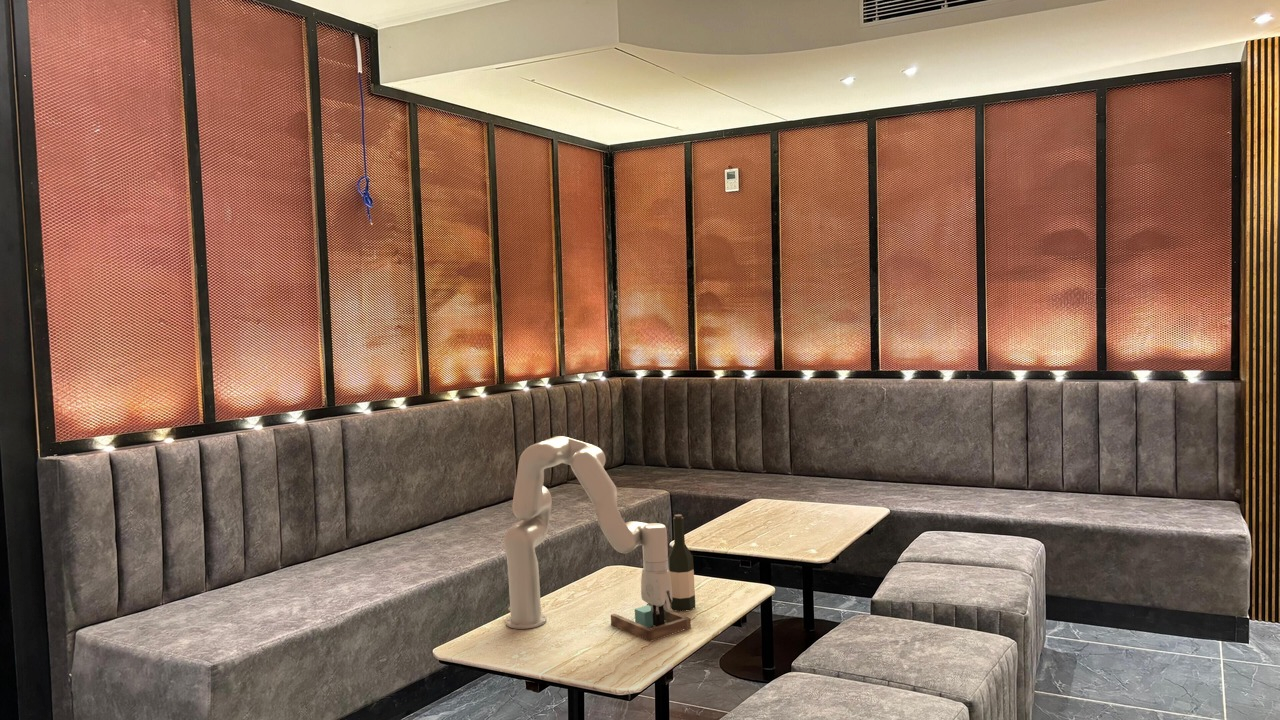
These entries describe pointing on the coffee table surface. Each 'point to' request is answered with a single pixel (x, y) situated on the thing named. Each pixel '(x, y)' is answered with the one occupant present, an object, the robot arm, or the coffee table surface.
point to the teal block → (644, 616)
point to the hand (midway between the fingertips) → (658, 625)
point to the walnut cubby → (675, 625)
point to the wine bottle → (681, 570)
